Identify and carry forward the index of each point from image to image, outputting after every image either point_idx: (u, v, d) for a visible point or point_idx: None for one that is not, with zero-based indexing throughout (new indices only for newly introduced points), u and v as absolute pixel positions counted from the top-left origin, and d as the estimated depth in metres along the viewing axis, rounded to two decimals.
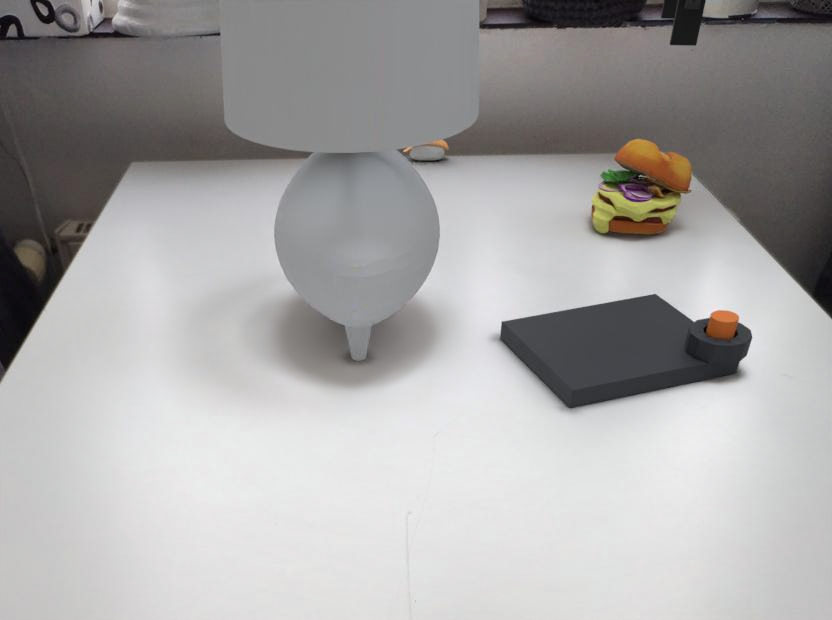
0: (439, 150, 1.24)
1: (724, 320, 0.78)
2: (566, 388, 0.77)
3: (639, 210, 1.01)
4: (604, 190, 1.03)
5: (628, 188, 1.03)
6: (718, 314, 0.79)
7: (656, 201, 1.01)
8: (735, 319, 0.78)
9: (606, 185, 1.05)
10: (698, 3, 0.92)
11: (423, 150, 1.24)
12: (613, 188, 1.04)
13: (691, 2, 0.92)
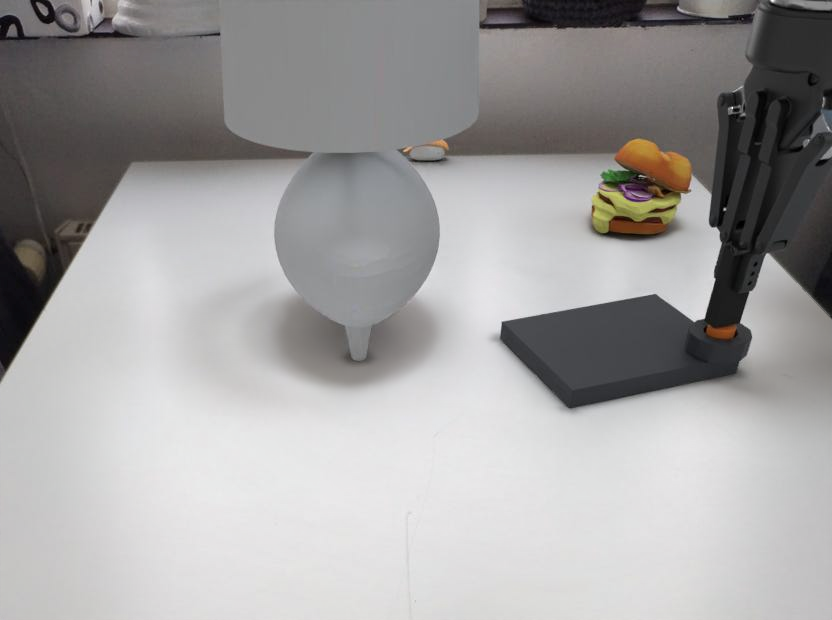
0: (439, 150, 1.24)
1: (722, 329, 0.78)
2: (566, 388, 0.77)
3: (639, 210, 1.01)
4: (604, 190, 1.03)
5: (628, 188, 1.03)
6: None
7: (656, 201, 1.01)
8: (732, 328, 0.79)
9: (606, 185, 1.05)
10: (753, 286, 0.75)
11: (423, 150, 1.24)
12: (613, 188, 1.04)
13: (746, 286, 0.75)
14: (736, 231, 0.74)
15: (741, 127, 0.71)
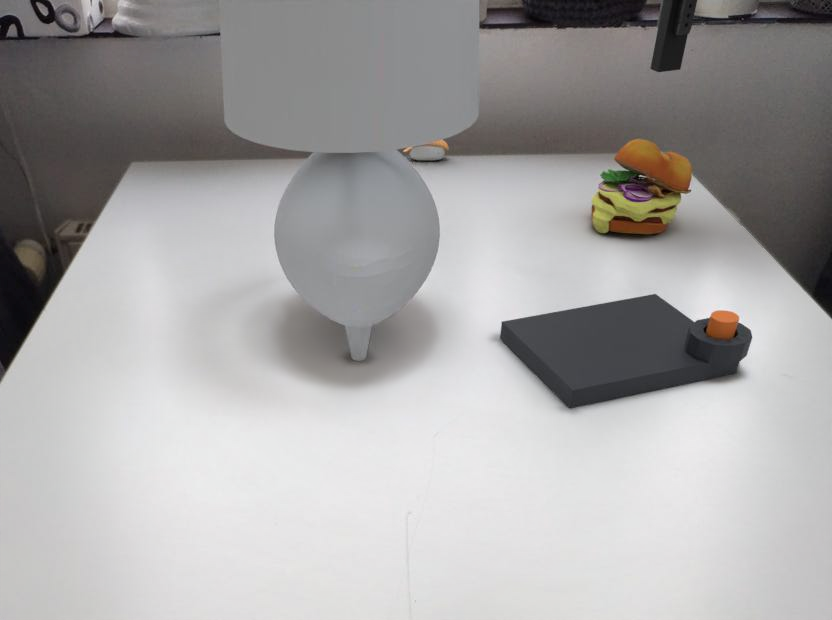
0: (439, 150, 1.24)
1: (724, 321, 0.78)
2: (566, 388, 0.77)
3: (639, 210, 1.01)
4: (604, 190, 1.03)
5: (628, 188, 1.03)
6: (718, 314, 0.79)
7: (656, 201, 1.01)
8: (735, 319, 0.78)
9: (606, 185, 1.05)
10: (689, 28, 0.90)
11: (423, 150, 1.24)
12: (613, 188, 1.04)
13: (683, 28, 0.90)
14: None
15: None
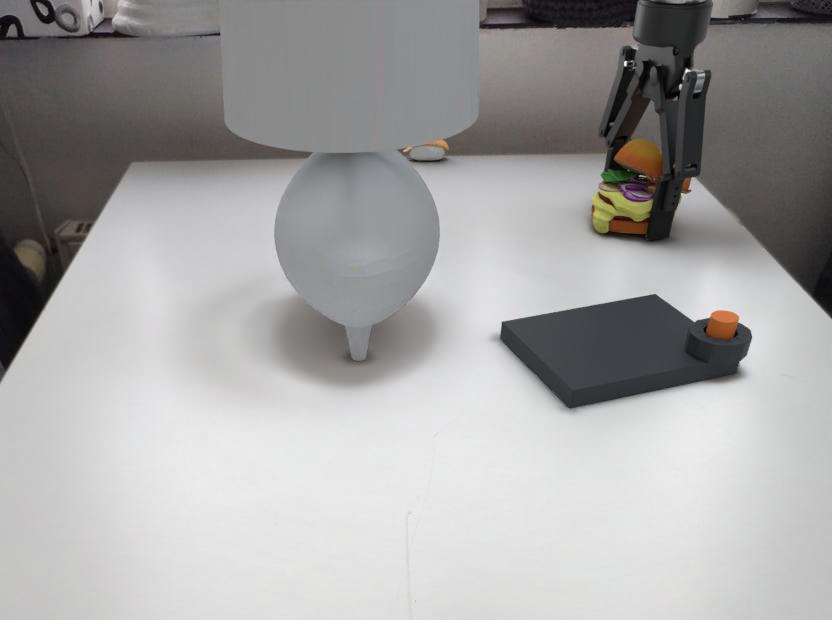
0: (439, 150, 1.24)
1: (724, 321, 0.78)
2: (566, 388, 0.77)
3: (639, 210, 1.01)
4: (604, 190, 1.03)
5: (628, 188, 1.03)
6: (718, 314, 0.79)
7: None
8: (735, 319, 0.78)
9: (606, 185, 1.05)
10: (676, 205, 1.00)
11: (423, 150, 1.24)
12: (613, 188, 1.04)
13: (671, 206, 0.99)
14: (616, 142, 1.05)
15: (631, 75, 1.01)
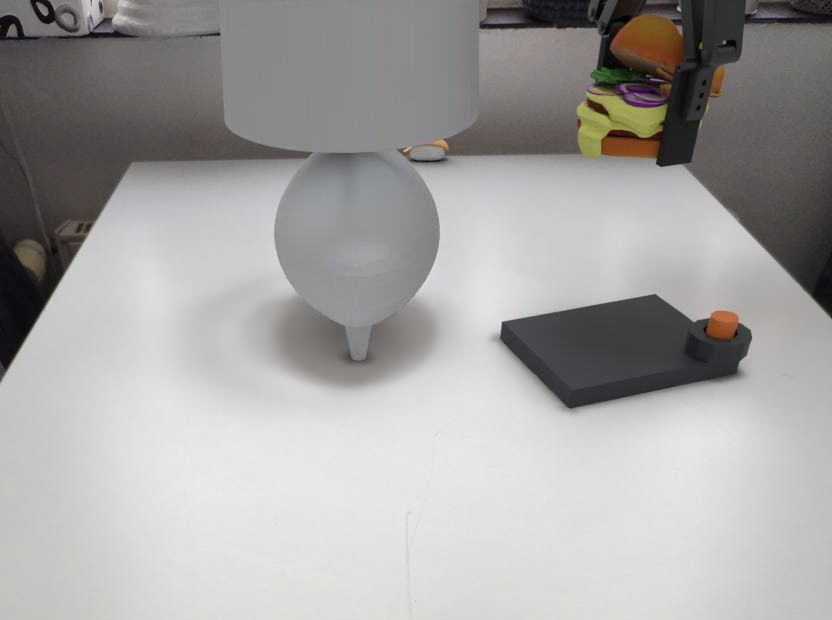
0: (439, 150, 1.24)
1: (724, 321, 0.78)
2: (566, 388, 0.77)
3: (646, 120, 0.67)
4: (595, 93, 0.70)
5: (630, 90, 0.69)
6: (718, 314, 0.79)
7: None
8: (735, 319, 0.78)
9: (598, 88, 0.71)
10: (703, 111, 0.66)
11: (423, 150, 1.24)
12: (608, 92, 0.71)
13: (694, 111, 0.66)
14: (613, 25, 0.72)
15: None
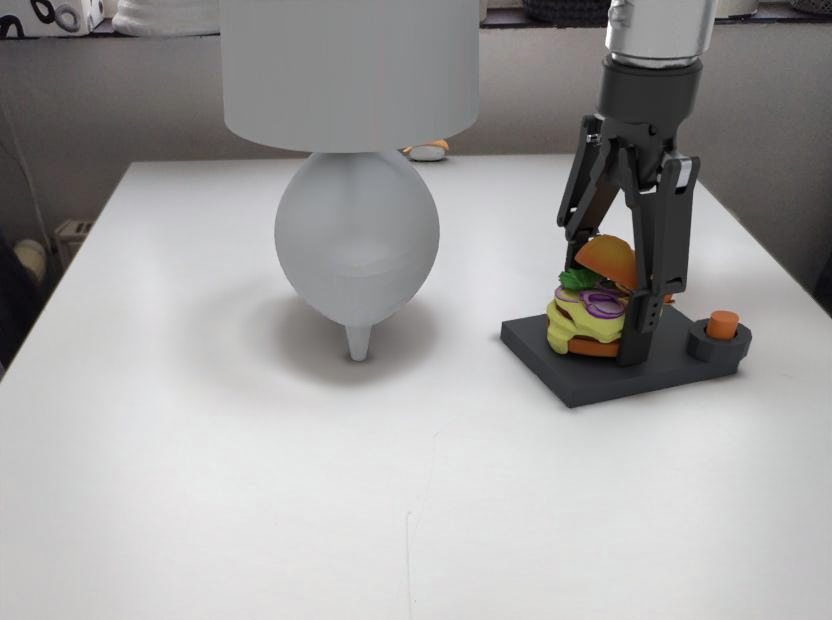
0: (439, 150, 1.24)
1: (724, 321, 0.78)
2: (566, 388, 0.77)
3: (606, 330, 0.77)
4: (562, 299, 0.79)
5: (593, 298, 0.79)
6: (718, 314, 0.79)
7: None
8: (735, 319, 0.78)
9: (565, 292, 0.80)
10: (655, 326, 0.75)
11: (423, 150, 1.24)
12: (574, 296, 0.80)
13: (648, 326, 0.75)
14: (578, 234, 0.81)
15: (596, 152, 0.76)
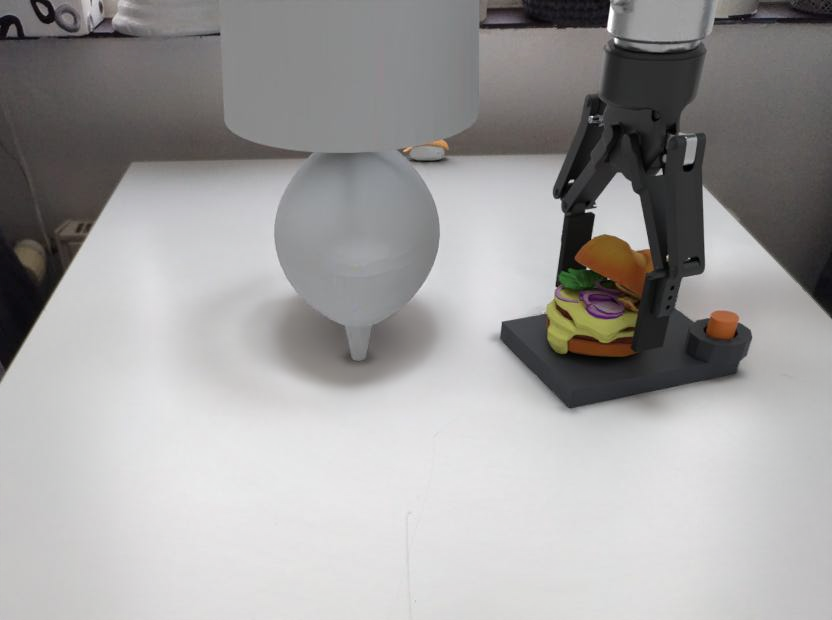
0: (439, 150, 1.24)
1: (724, 321, 0.78)
2: (566, 388, 0.77)
3: (606, 330, 0.77)
4: (562, 299, 0.79)
5: (592, 298, 0.79)
6: (718, 314, 0.79)
7: (629, 317, 0.77)
8: (735, 319, 0.78)
9: (565, 292, 0.80)
10: (672, 309, 0.73)
11: (423, 150, 1.24)
12: (574, 296, 0.80)
13: (664, 310, 0.73)
14: (575, 207, 0.81)
15: (597, 131, 0.76)
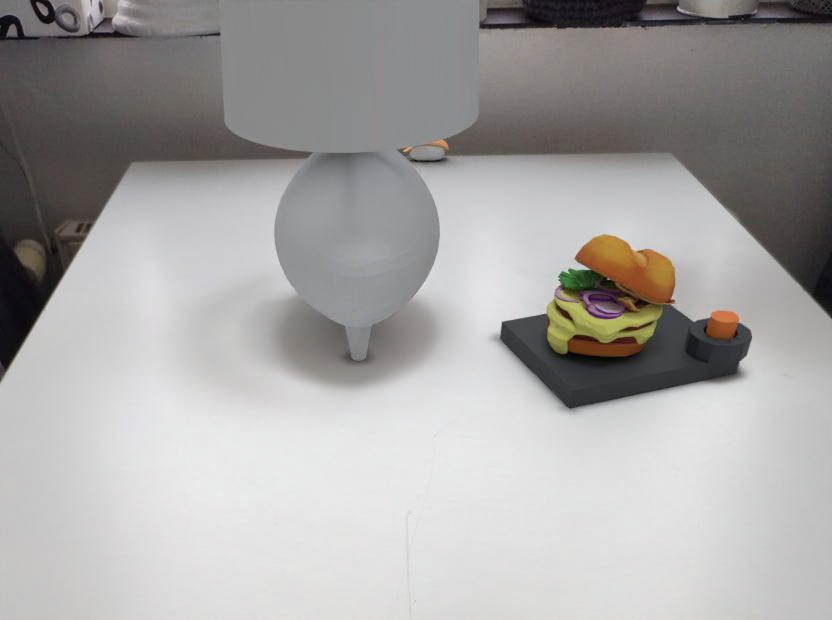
0: (439, 150, 1.24)
1: (724, 321, 0.78)
2: (566, 388, 0.77)
3: (606, 330, 0.77)
4: (561, 299, 0.79)
5: (592, 298, 0.79)
6: (718, 314, 0.79)
7: (629, 317, 0.77)
8: (735, 319, 0.78)
9: (565, 292, 0.80)
10: None
11: (423, 150, 1.24)
12: (574, 296, 0.80)
13: None
14: None
15: None
